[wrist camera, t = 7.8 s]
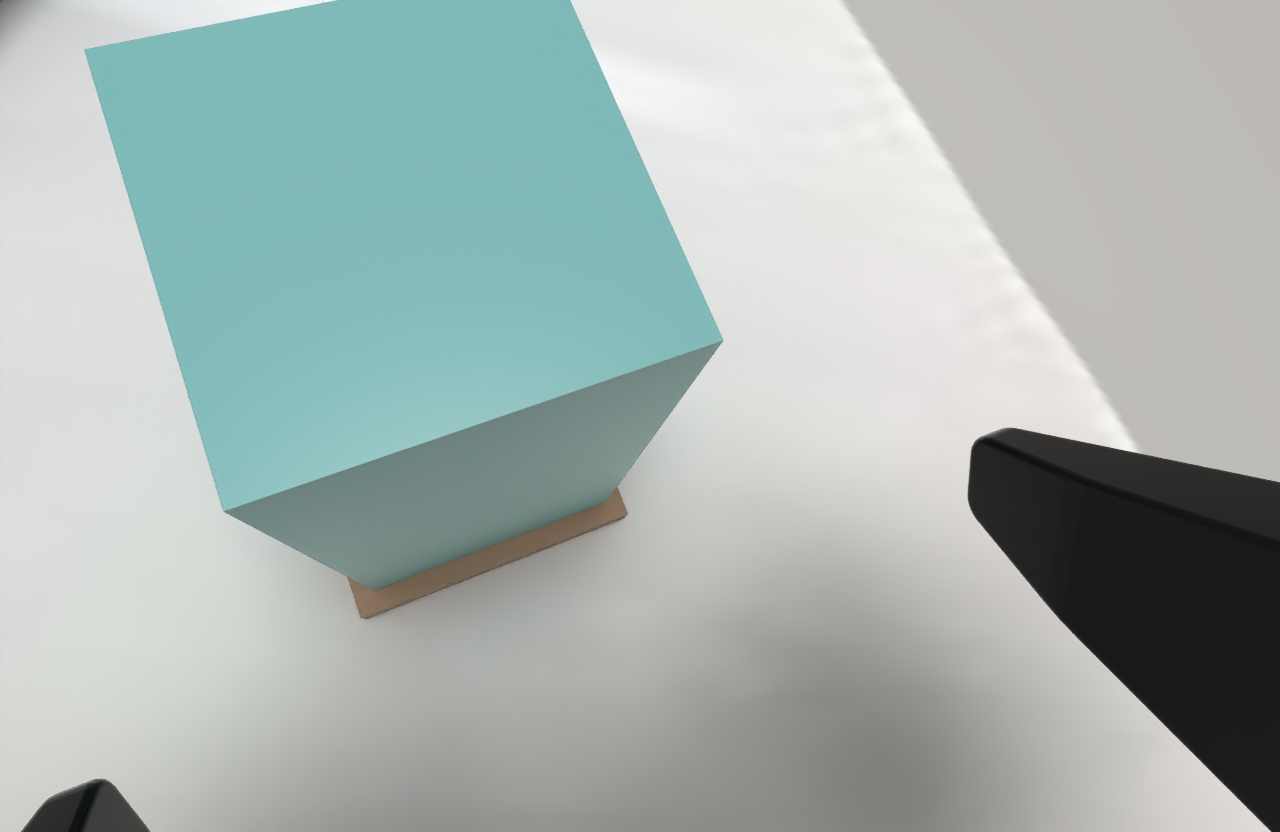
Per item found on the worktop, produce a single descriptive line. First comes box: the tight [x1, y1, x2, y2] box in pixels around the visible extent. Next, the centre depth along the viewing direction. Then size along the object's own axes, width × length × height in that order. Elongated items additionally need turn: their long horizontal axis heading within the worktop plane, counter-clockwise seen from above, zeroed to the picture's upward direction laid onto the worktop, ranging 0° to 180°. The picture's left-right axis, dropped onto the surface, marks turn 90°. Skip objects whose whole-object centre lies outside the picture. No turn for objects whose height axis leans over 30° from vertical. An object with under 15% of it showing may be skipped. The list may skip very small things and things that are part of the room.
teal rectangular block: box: [84, 0, 723, 591], centre depth 13 cm, size 5×5×10 cm
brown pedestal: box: [348, 487, 628, 619], centre depth 17 cm, size 6×6×5 cm
